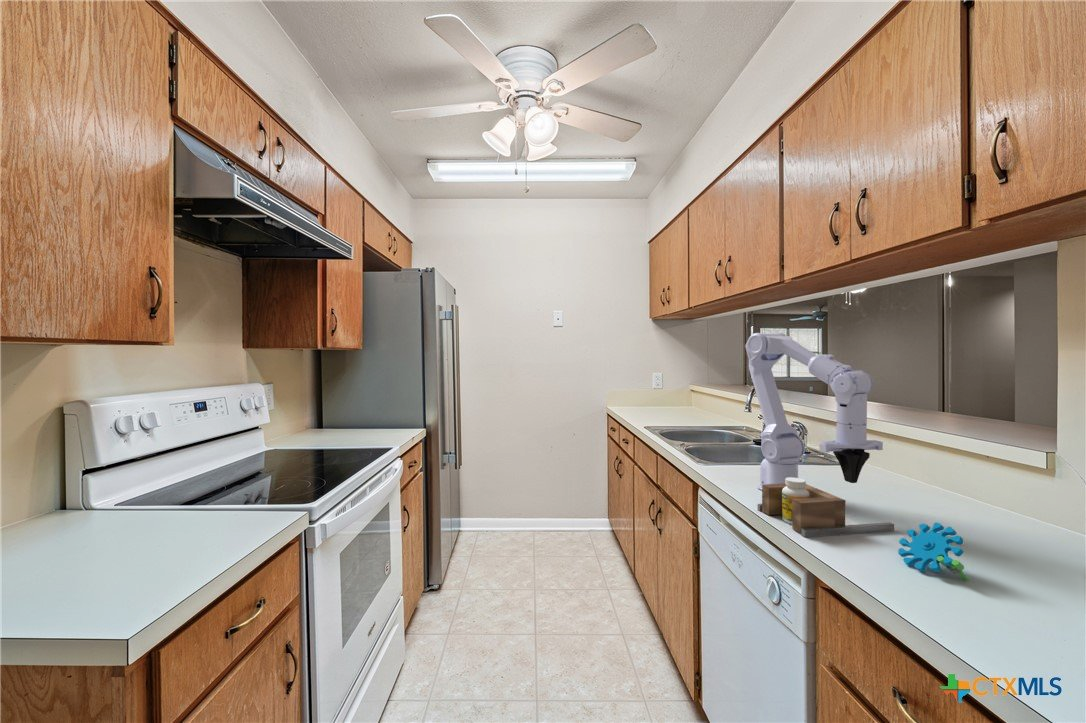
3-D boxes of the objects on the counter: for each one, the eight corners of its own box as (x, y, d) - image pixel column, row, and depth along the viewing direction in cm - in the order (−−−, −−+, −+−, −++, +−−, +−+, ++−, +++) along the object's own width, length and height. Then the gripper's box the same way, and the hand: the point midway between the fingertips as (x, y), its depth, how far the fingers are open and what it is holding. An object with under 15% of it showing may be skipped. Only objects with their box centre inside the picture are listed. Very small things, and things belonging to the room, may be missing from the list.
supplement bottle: (815, 524, 98) (815, 481, 98) (796, 527, 96) (796, 484, 96) (794, 515, 103) (794, 475, 103) (776, 518, 102) (776, 477, 101)
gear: (883, 544, 84) (928, 511, 82) (905, 565, 84) (950, 532, 82) (926, 581, 73) (979, 544, 71) (950, 605, 74) (1004, 569, 72)
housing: (762, 511, 106) (762, 484, 106) (801, 508, 107) (801, 482, 107) (800, 533, 93) (800, 502, 93) (845, 530, 94) (845, 500, 94)
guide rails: (757, 509, 107) (757, 503, 107) (835, 505, 110) (835, 499, 110) (804, 537, 91) (804, 530, 91) (894, 530, 94) (894, 523, 94)
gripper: (836, 427, 96) (836, 488, 97) (895, 425, 98) (894, 485, 99) (812, 421, 103) (812, 479, 104) (868, 420, 105) (867, 476, 106)
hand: (850, 481), depth 102 cm, fingers closed
